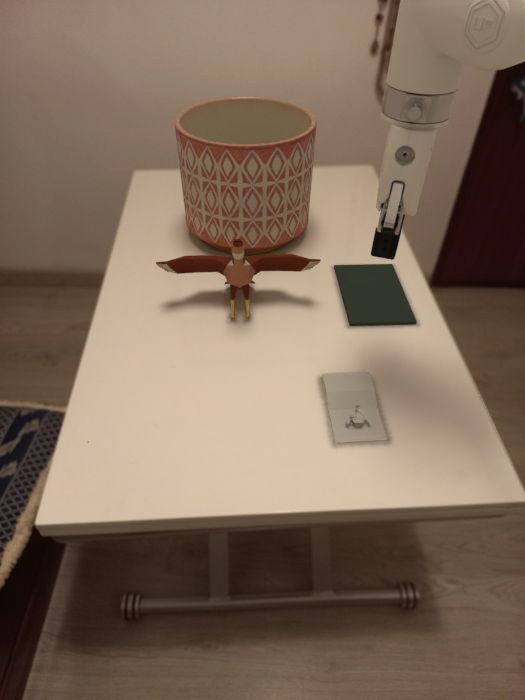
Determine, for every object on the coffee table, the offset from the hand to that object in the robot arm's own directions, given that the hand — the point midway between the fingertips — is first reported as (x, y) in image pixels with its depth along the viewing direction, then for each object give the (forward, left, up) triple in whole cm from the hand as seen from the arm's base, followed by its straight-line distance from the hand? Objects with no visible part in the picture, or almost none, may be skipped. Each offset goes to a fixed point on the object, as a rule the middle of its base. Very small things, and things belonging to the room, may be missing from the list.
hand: (385, 246), depth 63 cm
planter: (+32, -31, -21) cm, 49 cm away
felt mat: (+1, -16, -20) cm, 26 cm away
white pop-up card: (-1, +12, -21) cm, 24 cm away
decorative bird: (+24, -5, -21) cm, 32 cm away
